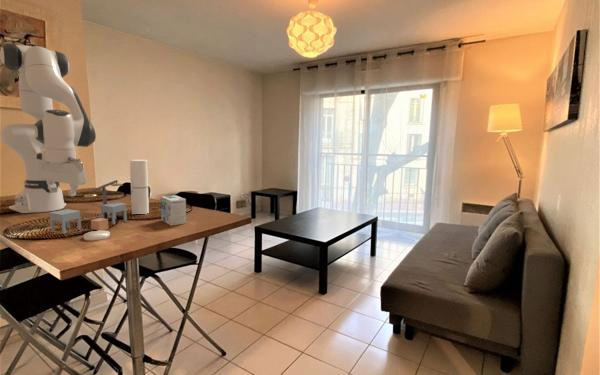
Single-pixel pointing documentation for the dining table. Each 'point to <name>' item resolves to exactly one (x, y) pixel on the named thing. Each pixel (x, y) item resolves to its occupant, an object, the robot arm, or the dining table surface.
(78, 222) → the cover low
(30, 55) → the robot arm
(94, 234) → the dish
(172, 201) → the light bulb box
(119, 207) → the cover high
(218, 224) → the dining table surface
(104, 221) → the block
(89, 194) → the balance
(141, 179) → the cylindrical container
